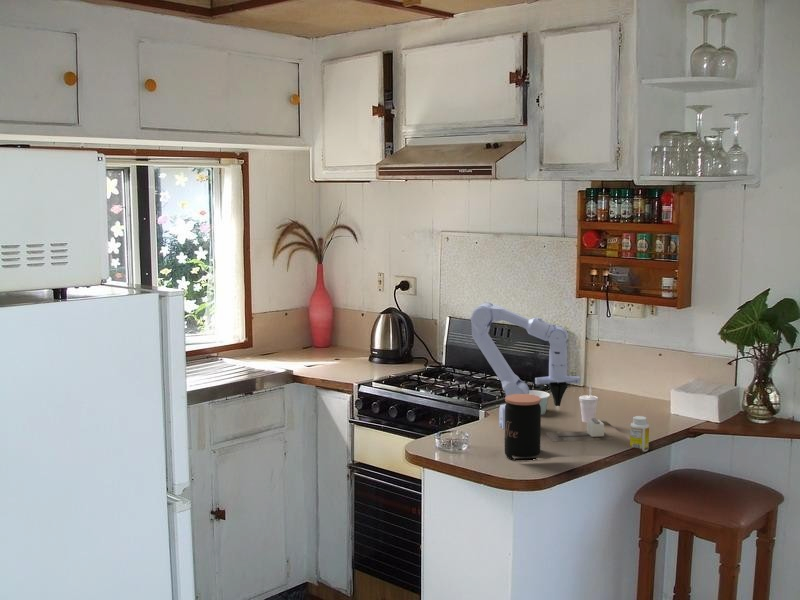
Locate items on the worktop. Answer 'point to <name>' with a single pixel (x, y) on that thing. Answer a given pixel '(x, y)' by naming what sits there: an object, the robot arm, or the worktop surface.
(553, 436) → the fader board
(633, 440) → the supplement bottle
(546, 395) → the food container
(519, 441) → the coffee jar
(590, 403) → the smoothie
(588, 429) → the fader knob
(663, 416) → the worktop surface
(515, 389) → the robot arm
